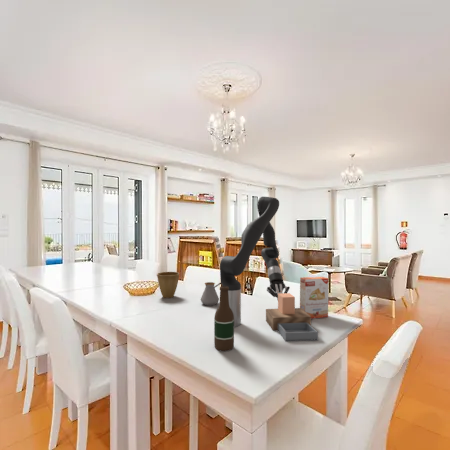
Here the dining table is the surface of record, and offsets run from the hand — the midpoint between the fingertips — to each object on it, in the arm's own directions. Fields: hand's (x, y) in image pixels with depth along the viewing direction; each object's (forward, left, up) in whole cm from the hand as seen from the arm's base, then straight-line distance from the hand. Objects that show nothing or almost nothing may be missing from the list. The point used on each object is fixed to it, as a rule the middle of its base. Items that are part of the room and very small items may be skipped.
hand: (281, 303), depth 149 cm
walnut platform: (0, -10, -8) cm, 13 cm away
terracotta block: (0, -8, -2) cm, 8 cm away
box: (0, -24, -8) cm, 25 cm away
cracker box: (+18, +1, -8) cm, 20 cm away
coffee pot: (-32, +34, -8) cm, 47 cm away
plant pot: (-64, +52, -8) cm, 83 cm away
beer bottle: (-33, -33, -8) cm, 47 cm away
